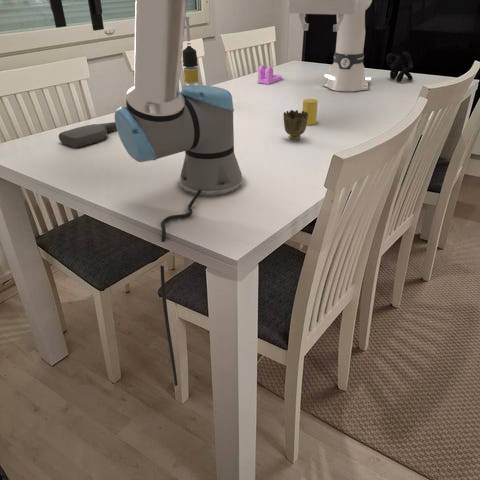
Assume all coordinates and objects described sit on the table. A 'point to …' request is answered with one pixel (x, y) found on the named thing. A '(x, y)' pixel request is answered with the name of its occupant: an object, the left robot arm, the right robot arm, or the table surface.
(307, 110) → the tin
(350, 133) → the table surface
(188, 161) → the left robot arm
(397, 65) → the squiggle
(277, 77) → the bracket
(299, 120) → the cup
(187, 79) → the long nozzle bottle
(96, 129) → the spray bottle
